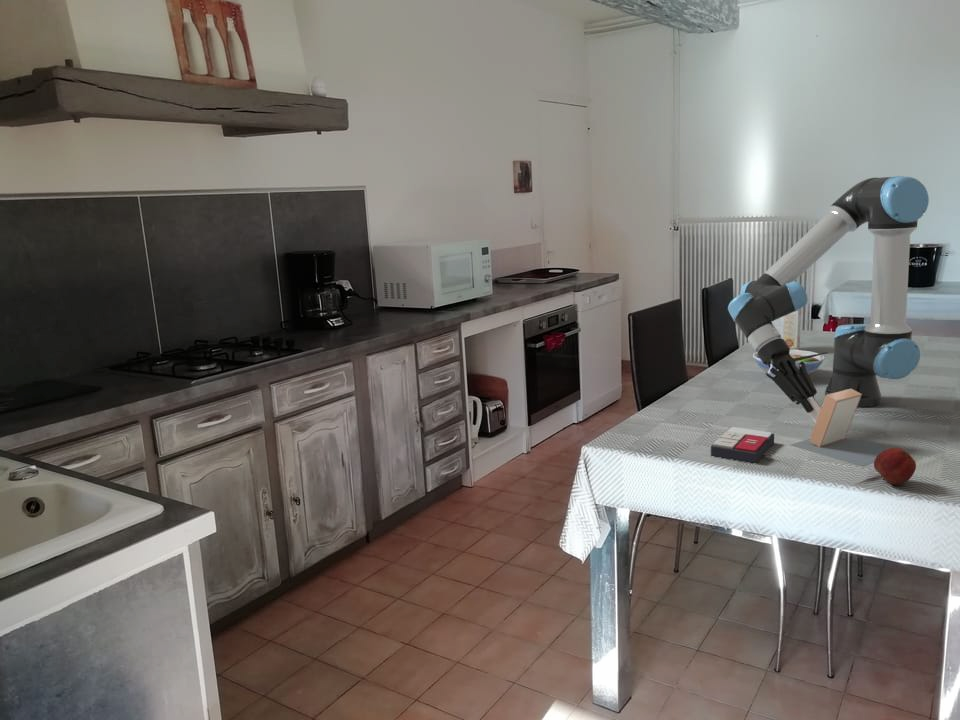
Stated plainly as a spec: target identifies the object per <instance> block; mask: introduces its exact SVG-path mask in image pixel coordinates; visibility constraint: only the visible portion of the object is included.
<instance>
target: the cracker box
mask: <svg viewBox="0 0 960 720" xmlns="http://www.w3.org/2000/svg"><path fill="white" fill-rule="evenodd" d="M801 319H802V308H800V309H798V310H797V311H796V312H795V311H794V312H792V313H790V314H788V315H785V316H783V317H781V318H779V319H776V320H774V321H772V324H773V325H774V327H775V328H776V329H777V331H778V332H779V333H780V335H781V339H784V341H785V342H786V344H787V345H788V346H789V348H790V349H791V350H800V344H801V324H802V323H801V322H802V321H801Z"/></svg>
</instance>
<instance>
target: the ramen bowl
mask: <svg viewBox="0 0 960 720" xmlns="http://www.w3.org/2000/svg"><path fill="white" fill-rule="evenodd" d="M757 354H758V352H755V351H754V352H753V354H752V357H753V359H754V361H755V363H756V364H757V366H758V367H759V368H760V369H762V370H763V371H764V372H766V373H767V372H768V371H769V369H770V368H769V367H768V365H765V364H763V362H762V361H761V359H760V358H759V356H758V355H757ZM826 354H828V352H826V351H825V352H821V353H818V352H814V351H809V350H801V349H799V350H791V349H790V352H789V355H790V356H791V357H792V358H794V360H795V362H798V363H800V362H804V363H805V368H806V371H807V373H808V375H810V374H811V373H813V372H815V371H816V370H817V369H818V368H819V367H820V366H821V365H822V363H823V362H824V360H825V355H826Z"/></svg>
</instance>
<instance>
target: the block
mask: <svg viewBox="0 0 960 720" xmlns="http://www.w3.org/2000/svg"><path fill="white" fill-rule="evenodd" d="M861 396H862V394H861V393H859V392H857V391H855V390H853V389H847V390H843V391H840V392H836V393H832V394H828V395H826V396H825V395H824V399H823V403H822V405H821V407H820V408H821V410H820V413H819V415H818V418H817V421H816V424H814V427H813V430H812V433H811V436H810V438H809V439H810V440H809V441H810V442H812V443H813V444H815V445H817V446H818V447H822V446H825V445H829V444H832V443H835V442H838V441H841V440H845V437H846V435H848V431H849V429H850V426H851V424H852V421H853V419H854V416H855V413H856V411H857V408H858V407H857V406H858V403H859V401H860V398H861Z"/></svg>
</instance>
